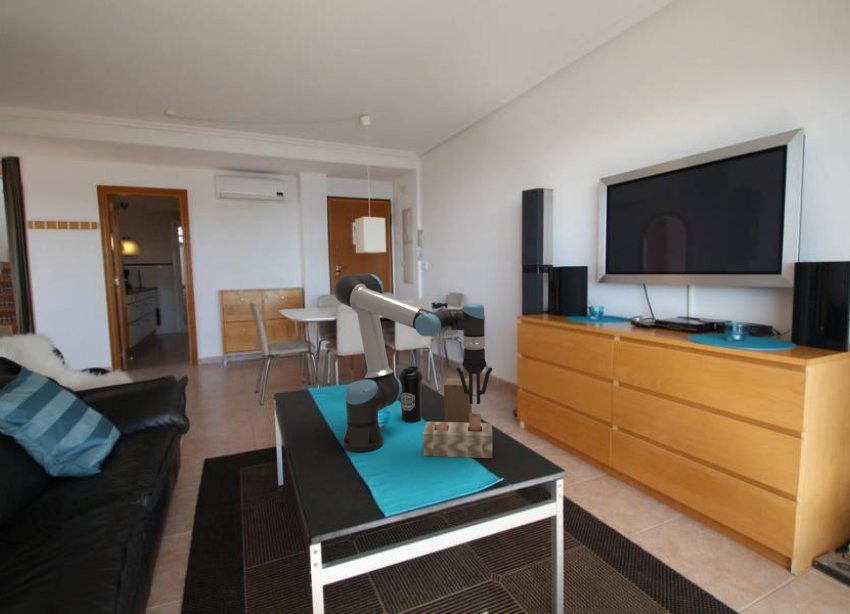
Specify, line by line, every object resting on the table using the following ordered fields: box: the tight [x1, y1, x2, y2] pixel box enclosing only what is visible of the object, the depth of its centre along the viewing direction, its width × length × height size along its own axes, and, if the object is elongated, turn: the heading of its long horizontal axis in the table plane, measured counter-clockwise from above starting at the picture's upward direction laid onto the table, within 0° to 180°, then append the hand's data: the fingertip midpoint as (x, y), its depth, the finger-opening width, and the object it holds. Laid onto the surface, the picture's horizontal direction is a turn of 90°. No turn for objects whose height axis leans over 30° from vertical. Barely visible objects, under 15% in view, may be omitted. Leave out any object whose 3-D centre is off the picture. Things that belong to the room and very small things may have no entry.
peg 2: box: [469, 412, 482, 432], centre depth 157 cm, size 4×4×8 cm
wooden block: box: [443, 377, 473, 423], centre depth 178 cm, size 10×10×20 cm
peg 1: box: [436, 424, 447, 431], centre depth 159 cm, size 4×4×8 cm
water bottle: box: [398, 365, 423, 424], centre depth 190 cm, size 10×10×23 cm
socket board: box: [422, 421, 493, 459], centre depth 158 cm, size 24×12×8 cm, turn 83°
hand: (474, 412), depth 157 cm, fingers closed
